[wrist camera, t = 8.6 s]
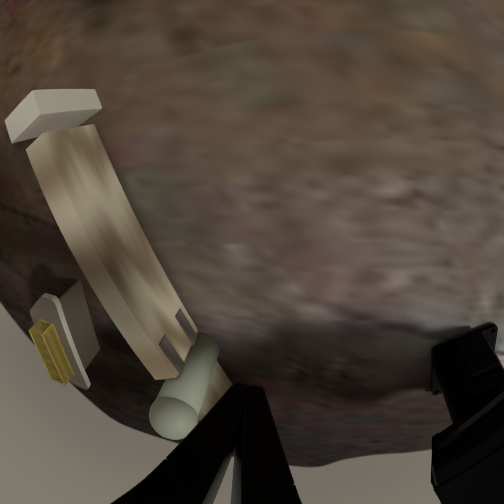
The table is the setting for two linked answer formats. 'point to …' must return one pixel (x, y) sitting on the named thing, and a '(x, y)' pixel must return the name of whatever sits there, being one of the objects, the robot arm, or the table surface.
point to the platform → (65, 335)
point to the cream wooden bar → (112, 247)
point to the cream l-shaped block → (51, 112)
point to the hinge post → (185, 391)
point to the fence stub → (214, 390)
